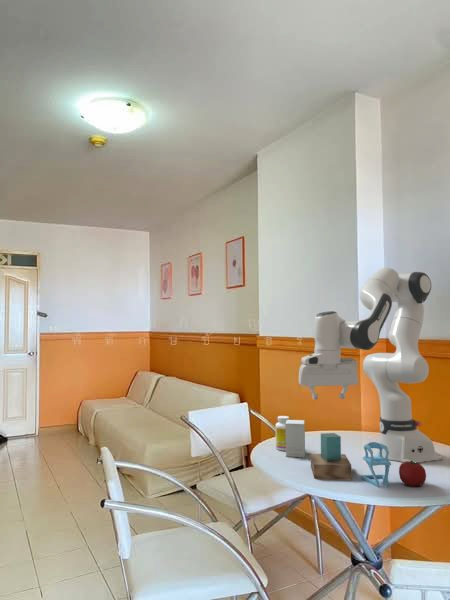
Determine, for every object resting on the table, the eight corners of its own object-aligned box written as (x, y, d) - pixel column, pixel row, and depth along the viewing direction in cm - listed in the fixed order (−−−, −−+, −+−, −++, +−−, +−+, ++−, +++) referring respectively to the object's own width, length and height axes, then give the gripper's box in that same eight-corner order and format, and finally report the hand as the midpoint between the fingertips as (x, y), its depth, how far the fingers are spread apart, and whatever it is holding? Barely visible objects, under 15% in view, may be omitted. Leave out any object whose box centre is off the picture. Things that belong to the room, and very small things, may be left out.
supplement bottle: (293, 451, 171) (292, 418, 172) (276, 451, 172) (276, 418, 172) (291, 446, 178) (290, 415, 179) (275, 446, 178) (274, 415, 179)
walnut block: (345, 468, 151) (345, 454, 151) (351, 480, 139) (351, 465, 139) (310, 468, 152) (310, 453, 152) (314, 480, 140) (313, 464, 140)
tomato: (401, 478, 139) (400, 455, 140) (428, 482, 135) (427, 459, 136) (396, 486, 133) (395, 462, 133) (425, 491, 129) (424, 466, 129)
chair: (370, 487, 132) (369, 448, 133) (360, 477, 140) (359, 440, 141) (395, 486, 132) (393, 447, 133) (383, 477, 141) (382, 440, 141)
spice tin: (334, 456, 149) (334, 432, 149) (340, 460, 144) (340, 436, 144) (320, 457, 148) (320, 433, 148) (326, 461, 143) (326, 437, 144)
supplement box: (305, 457, 163) (304, 424, 164) (285, 456, 164) (284, 423, 165) (305, 452, 170) (304, 419, 171) (286, 451, 171) (286, 419, 172)
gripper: (353, 357, 152) (354, 396, 151) (296, 358, 151) (297, 398, 150) (360, 358, 146) (361, 399, 145) (301, 359, 144) (302, 401, 143)
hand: (328, 398), depth 147 cm, fingers open, 8 cm apart
